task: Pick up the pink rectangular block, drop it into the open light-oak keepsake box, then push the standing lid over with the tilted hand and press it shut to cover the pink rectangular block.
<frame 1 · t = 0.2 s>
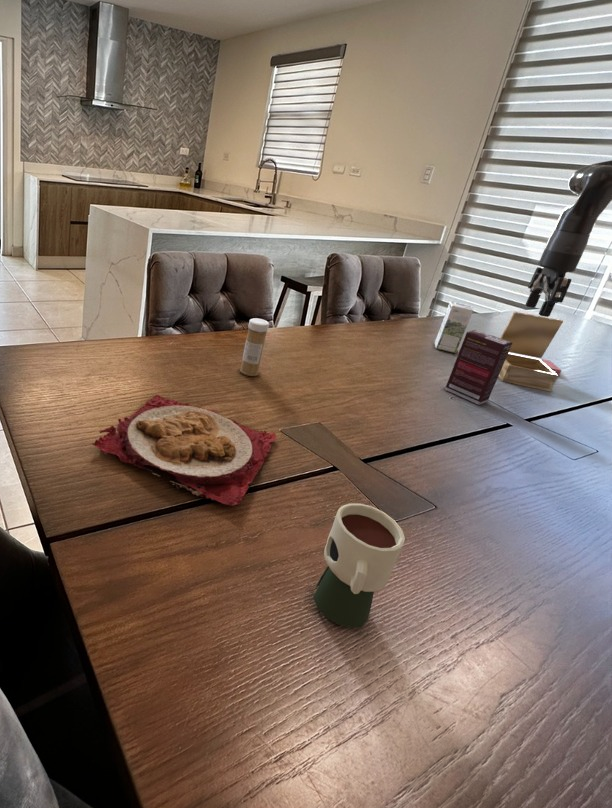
hand: (536, 311, 124), 19 cm above the table, tool pointing down, fingers open, 8 cm apart
box lid: (527, 335, 131), point 11 cm above the table, hinge at 80.0°
plate with food: (188, 445, 84), on the table
keepsake box: (517, 377, 132), on the table
sprinkles bottle: (248, 373, 114), on the table
supplement box: (464, 396, 116), on the table
pink rectangular block: (544, 369, 140), on the table
character mug: (338, 608, 56), on the table
syrup box: (444, 349, 147), on the table
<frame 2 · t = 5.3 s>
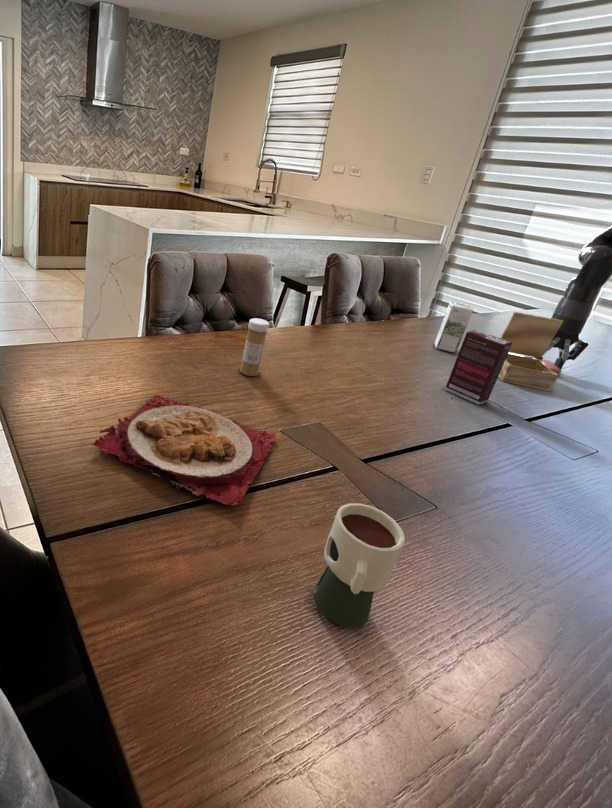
hand: (545, 368, 140), 1 cm above the table, tool pointing down, fingers closed on pink rectangular block, 4 cm apart
pink rectangular block: (544, 369, 140), on the table, touching gripper
everything else where it was.
when the fingers open (3 cm above the table, at t = 13.5 s): pink rectangular block drops 2 cm, resting on keepsake box.
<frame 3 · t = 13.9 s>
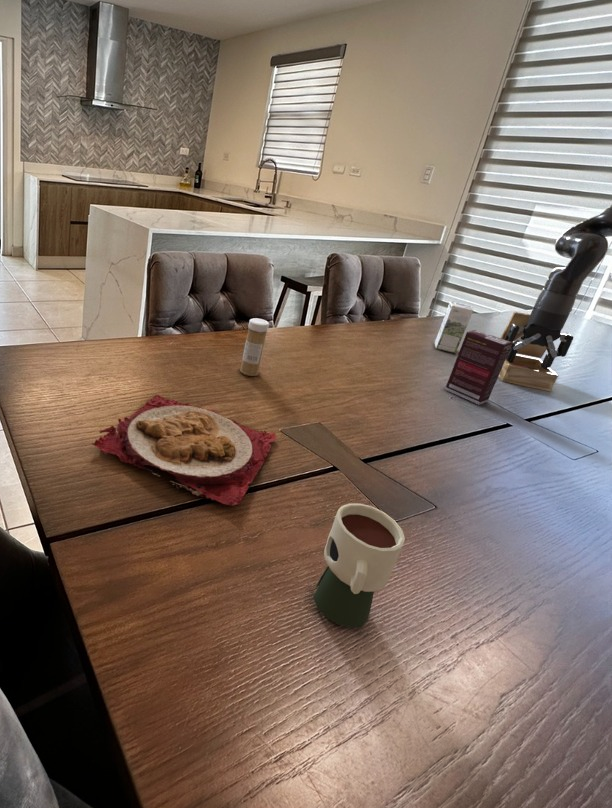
hand: (526, 364, 129), 4 cm above the table, tool pointing down, fingers open, 8 cm apart
pink rectangular block: (520, 376, 130), point 1 cm above the table, touching keepsake box
everything else where it was.
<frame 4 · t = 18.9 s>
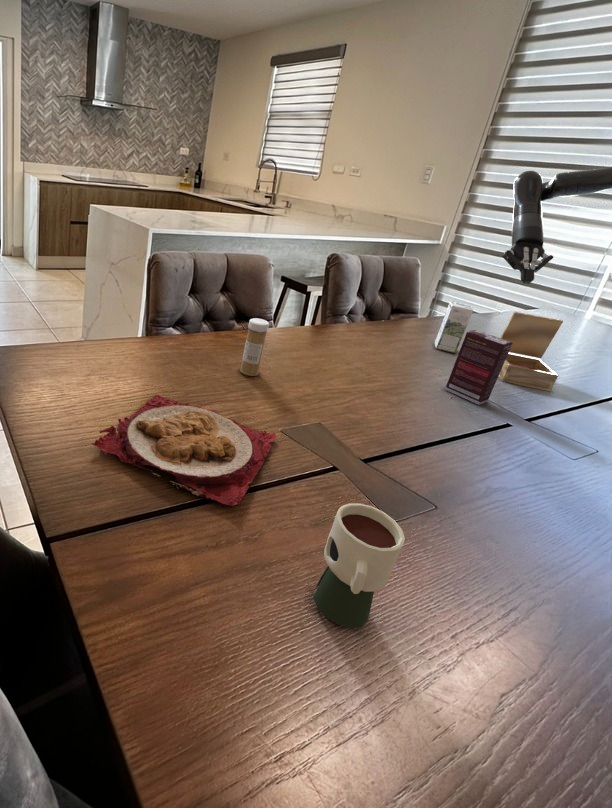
hand: (527, 282, 137), 24 cm above the table, tool tilted 40°, fingers closed
nothing on the table moved.
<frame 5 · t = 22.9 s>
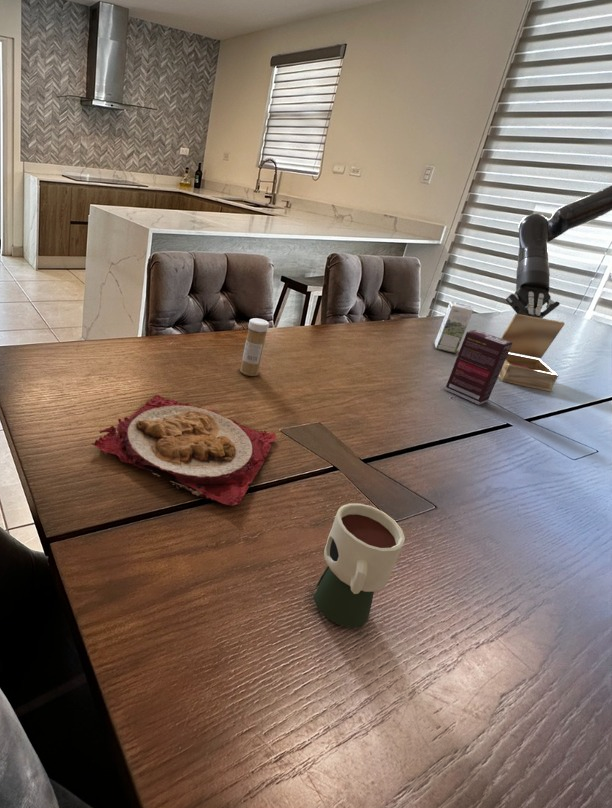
hand: (531, 328, 130), 13 cm above the table, tool tilted 45°, fingers closed
box lid: (528, 336, 131), point 11 cm above the table, hinge at 74.1°, touching gripper
everything else where it was.
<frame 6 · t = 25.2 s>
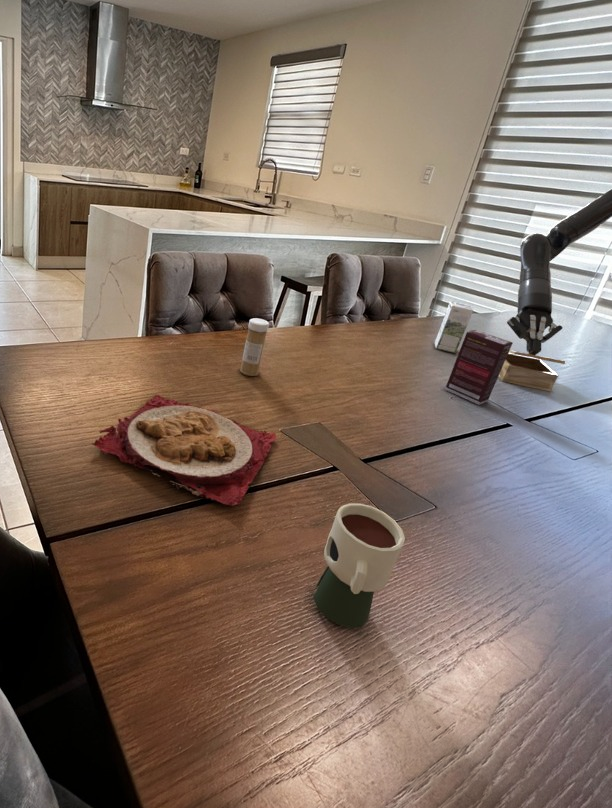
hand: (533, 353, 126), 8 cm above the table, tool tilted 45°, fingers closed
box lid: (528, 355, 129), point 7 cm above the table, hinge at 15.7°, touching gripper
everything else where it was.
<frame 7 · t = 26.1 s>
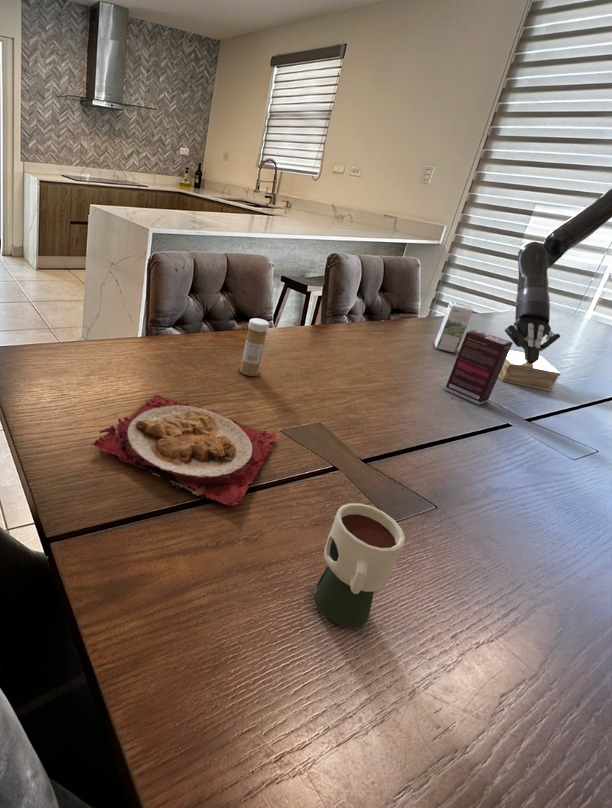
hand: (531, 361, 126), 6 cm above the table, tool tilted 45°, fingers closed
box lid: (526, 361, 129), point 5 cm above the table, hinge at -0.3°, touching gripper, keepsake box
everything else where it was.
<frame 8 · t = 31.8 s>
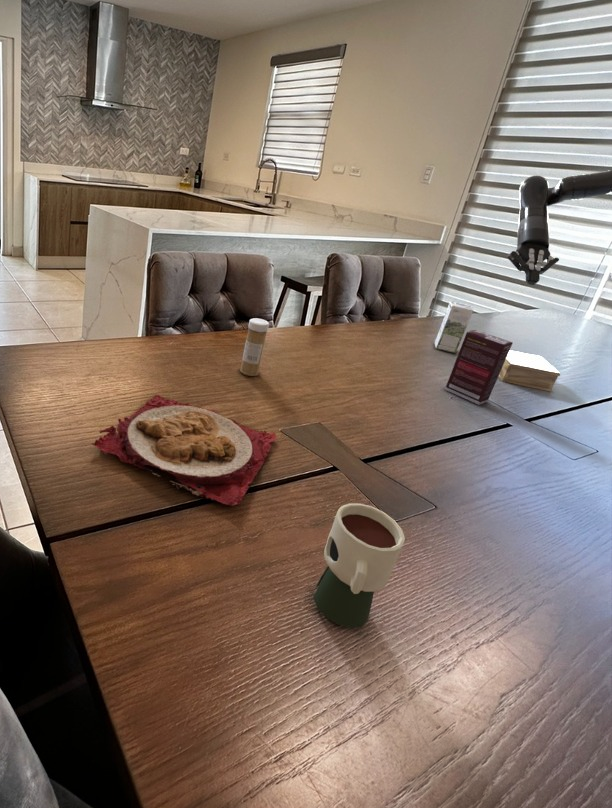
hand: (532, 283, 136), 24 cm above the table, tool tilted 45°, fingers closed
box lid: (526, 361, 129), point 5 cm above the table, hinge at -0.3°, touching keepsake box
everything else where it was.
at the end: pink rectangular block inside the target area in the keepsake box (0.9 cm from its centre), point 0.8 cm above the keepsake box's base; box lid at +0° (first picture: +80°) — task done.
